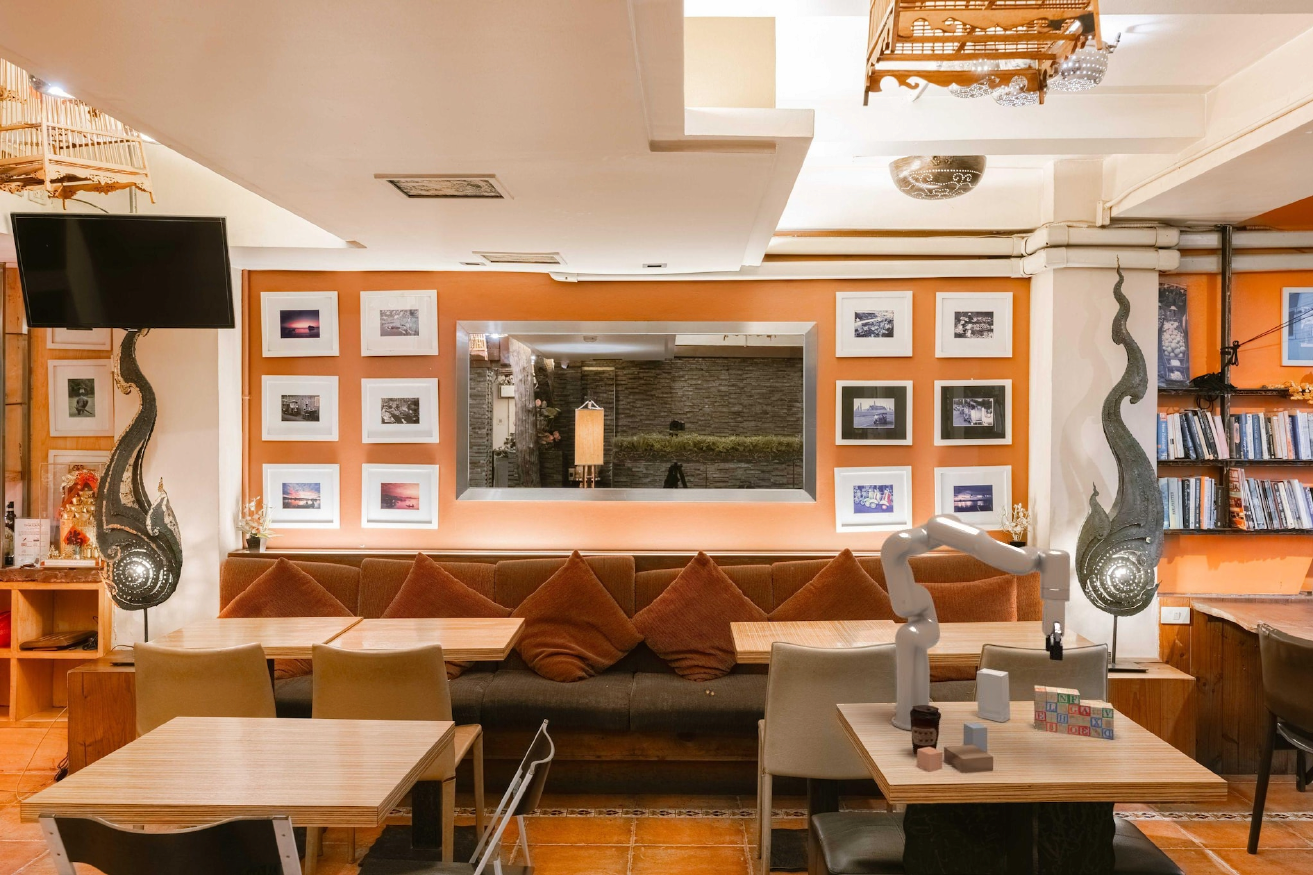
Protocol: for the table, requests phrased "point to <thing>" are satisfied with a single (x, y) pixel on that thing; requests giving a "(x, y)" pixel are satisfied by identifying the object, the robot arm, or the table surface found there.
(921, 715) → the coffee cup
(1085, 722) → the stack of blocks
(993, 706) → the skincare box
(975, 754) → the plinth
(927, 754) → the terracotta cube
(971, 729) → the slate block
